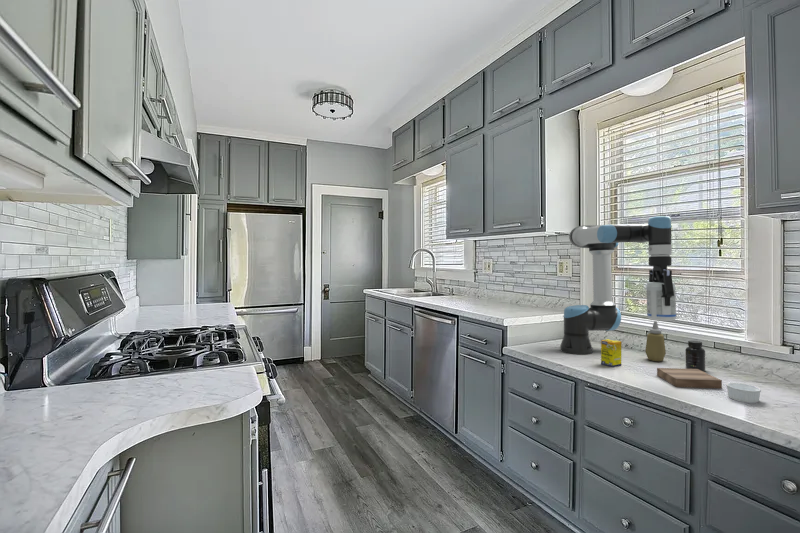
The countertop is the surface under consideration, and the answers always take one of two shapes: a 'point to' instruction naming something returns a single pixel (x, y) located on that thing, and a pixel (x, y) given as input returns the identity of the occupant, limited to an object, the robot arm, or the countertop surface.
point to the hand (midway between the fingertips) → (660, 312)
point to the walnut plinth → (689, 378)
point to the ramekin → (743, 392)
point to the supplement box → (611, 352)
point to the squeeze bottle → (655, 344)
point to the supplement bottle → (695, 356)
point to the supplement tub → (659, 302)
